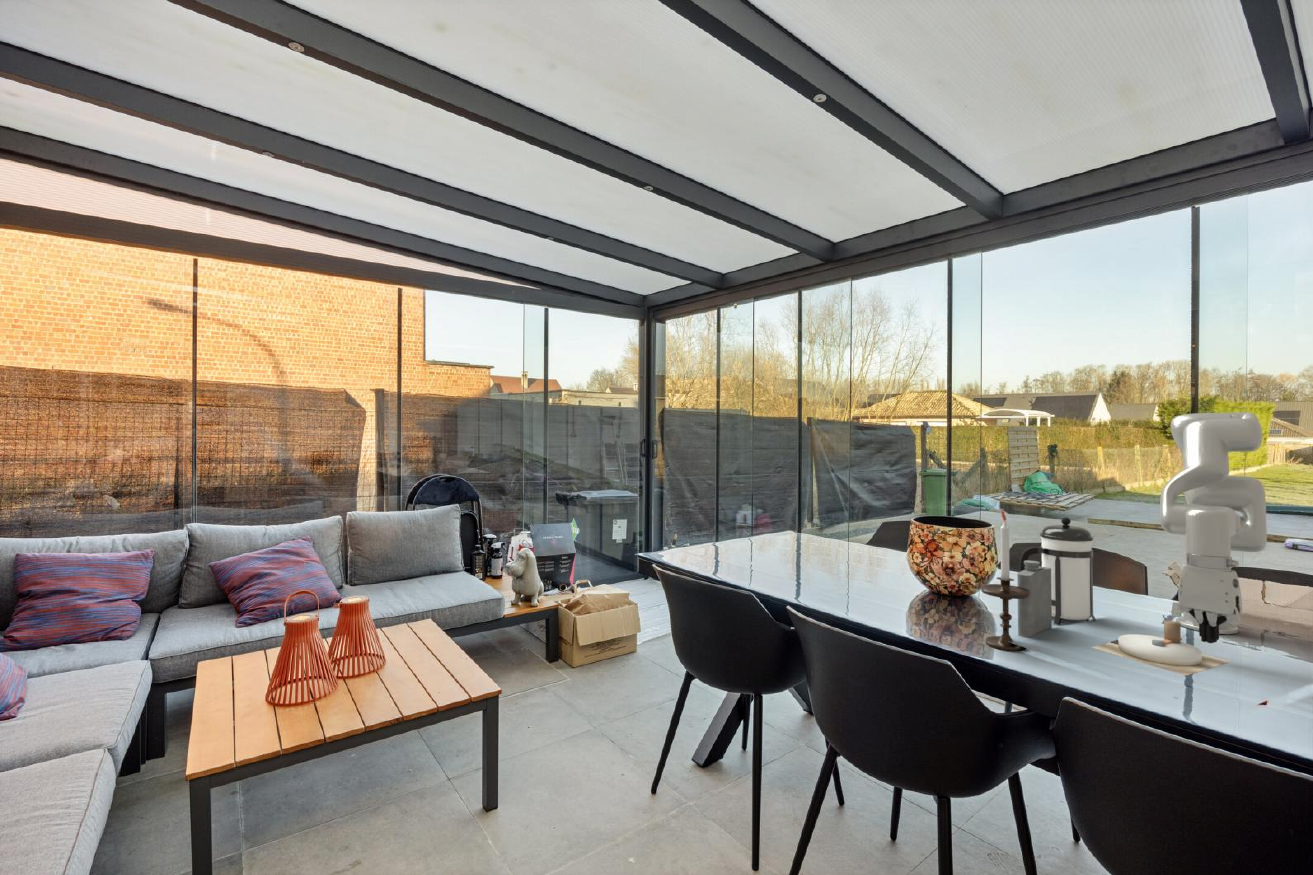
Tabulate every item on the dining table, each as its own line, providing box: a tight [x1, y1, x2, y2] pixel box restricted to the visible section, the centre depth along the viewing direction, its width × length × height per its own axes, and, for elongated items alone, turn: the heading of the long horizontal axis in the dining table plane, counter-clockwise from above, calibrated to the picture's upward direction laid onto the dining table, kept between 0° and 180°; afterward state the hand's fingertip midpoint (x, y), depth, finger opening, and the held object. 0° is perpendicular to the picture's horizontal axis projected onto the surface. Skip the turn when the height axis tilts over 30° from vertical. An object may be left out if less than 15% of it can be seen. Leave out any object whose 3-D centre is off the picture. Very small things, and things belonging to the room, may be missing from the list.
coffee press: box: [1018, 517, 1098, 625], centre depth 170 cm, size 17×16×30 cm
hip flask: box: [1017, 560, 1053, 638], centre depth 157 cm, size 16×4×20 cm, turn 127°
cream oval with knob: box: [1117, 620, 1203, 665], centre depth 139 cm, size 16×15×6 cm
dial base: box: [1090, 639, 1232, 677], centre depth 138 cm, size 19×19×2 cm
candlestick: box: [980, 508, 1030, 653], centre depth 149 cm, size 11×11×35 cm
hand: (1209, 641), depth 134 cm, fingers closed
